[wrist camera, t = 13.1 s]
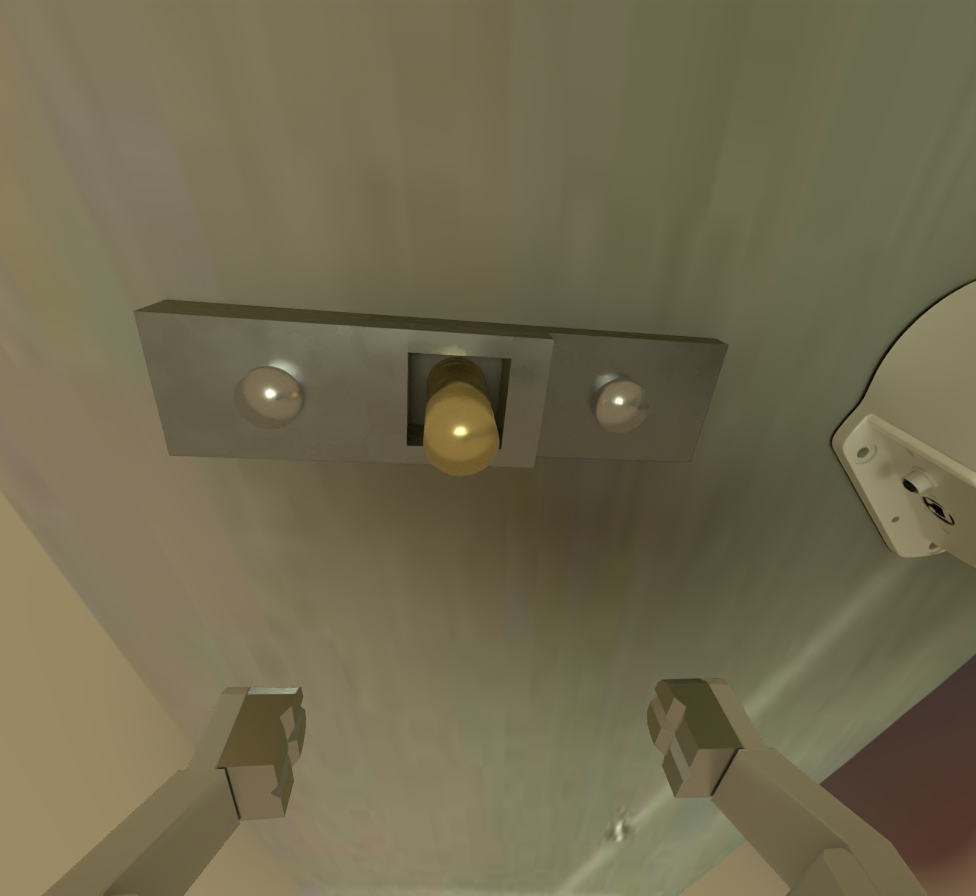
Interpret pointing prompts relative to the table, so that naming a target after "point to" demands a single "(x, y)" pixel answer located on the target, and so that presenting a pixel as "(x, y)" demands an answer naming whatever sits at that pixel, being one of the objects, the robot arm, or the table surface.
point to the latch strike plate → (386, 385)
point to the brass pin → (459, 419)
